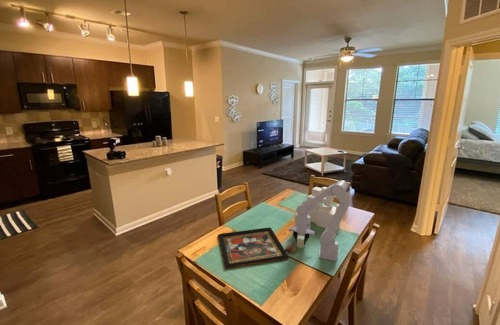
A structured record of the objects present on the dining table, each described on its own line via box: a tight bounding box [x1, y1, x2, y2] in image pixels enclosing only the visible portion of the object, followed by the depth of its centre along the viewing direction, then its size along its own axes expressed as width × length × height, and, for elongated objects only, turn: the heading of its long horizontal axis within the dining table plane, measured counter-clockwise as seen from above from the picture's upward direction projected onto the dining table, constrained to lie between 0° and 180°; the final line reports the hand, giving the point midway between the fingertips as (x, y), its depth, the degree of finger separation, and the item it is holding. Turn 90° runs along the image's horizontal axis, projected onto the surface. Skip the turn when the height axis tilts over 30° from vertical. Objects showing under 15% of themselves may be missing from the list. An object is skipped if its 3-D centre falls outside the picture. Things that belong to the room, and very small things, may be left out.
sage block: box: [296, 235, 305, 249], centre depth 145 cm, size 4×4×6 cm
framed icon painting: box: [217, 227, 290, 270], centre depth 144 cm, size 38×35×3 cm
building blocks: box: [307, 186, 340, 229], centre depth 169 cm, size 22×12×25 cm, turn 49°
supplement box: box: [294, 213, 312, 236], centre depth 157 cm, size 7×7×13 cm
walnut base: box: [284, 242, 297, 254], centre depth 141 cm, size 6×6×2 cm
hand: (300, 243), depth 145 cm, fingers closed on sage block, 4 cm apart
